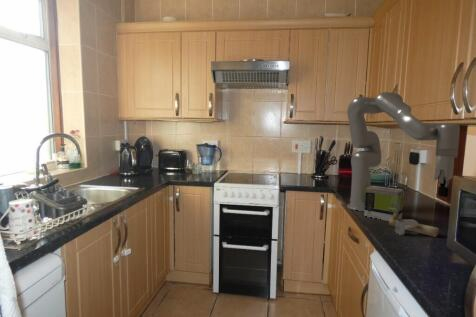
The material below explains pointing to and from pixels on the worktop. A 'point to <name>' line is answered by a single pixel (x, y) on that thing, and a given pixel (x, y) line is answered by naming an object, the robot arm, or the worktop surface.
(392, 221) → the pivot link
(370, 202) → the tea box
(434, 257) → the worktop surface
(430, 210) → the worktop surface
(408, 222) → the hook
